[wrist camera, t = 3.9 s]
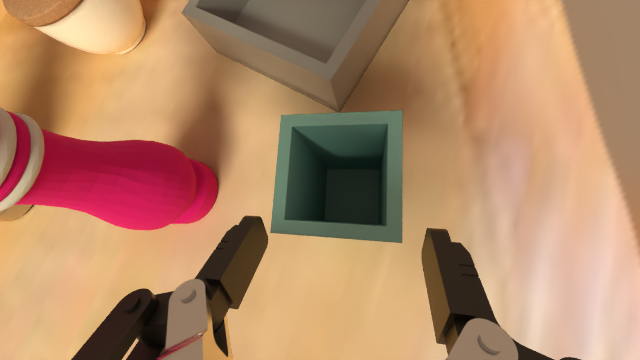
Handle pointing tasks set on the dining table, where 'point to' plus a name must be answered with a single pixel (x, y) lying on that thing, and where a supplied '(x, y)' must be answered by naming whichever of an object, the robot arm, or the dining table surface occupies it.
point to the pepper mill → (102, 176)
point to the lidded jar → (85, 22)
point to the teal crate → (340, 176)
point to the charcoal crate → (299, 39)
